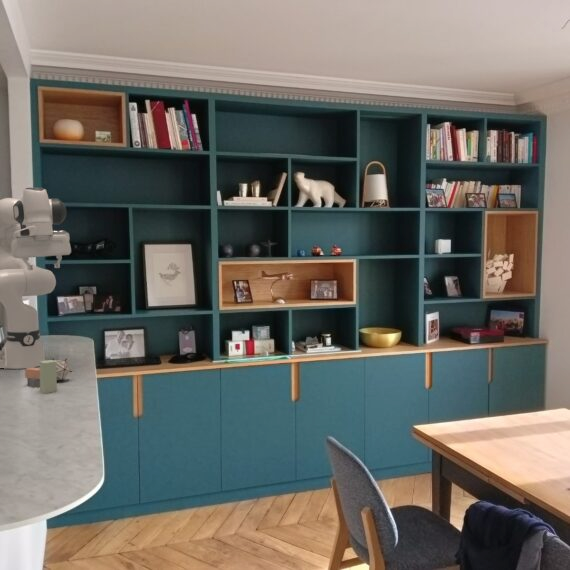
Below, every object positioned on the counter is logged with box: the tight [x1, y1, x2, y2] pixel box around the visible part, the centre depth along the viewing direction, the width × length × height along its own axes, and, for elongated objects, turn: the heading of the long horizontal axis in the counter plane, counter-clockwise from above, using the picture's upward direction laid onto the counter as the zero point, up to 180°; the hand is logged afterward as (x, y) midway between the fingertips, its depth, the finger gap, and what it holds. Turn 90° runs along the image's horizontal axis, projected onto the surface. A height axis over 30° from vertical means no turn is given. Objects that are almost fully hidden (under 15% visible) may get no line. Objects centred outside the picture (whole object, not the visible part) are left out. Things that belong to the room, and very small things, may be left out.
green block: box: [39, 359, 58, 394], centre depth 190 cm, size 4×4×10 cm
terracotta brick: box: [24, 367, 40, 379], centre depth 198 cm, size 6×3×3 cm, turn 69°
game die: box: [51, 358, 73, 383], centre depth 205 cm, size 9×8×10 cm
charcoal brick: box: [26, 378, 40, 389], centre depth 198 cm, size 6×3×3 cm, turn 43°
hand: (44, 269), depth 211 cm, fingers open, 8 cm apart
